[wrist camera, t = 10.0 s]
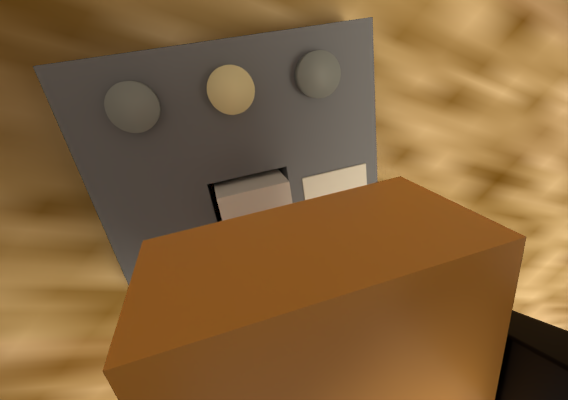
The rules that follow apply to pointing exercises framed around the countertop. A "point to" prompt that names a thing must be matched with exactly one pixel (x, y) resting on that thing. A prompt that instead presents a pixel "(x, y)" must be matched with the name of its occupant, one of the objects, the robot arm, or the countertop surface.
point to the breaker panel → (215, 123)
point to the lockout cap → (322, 303)
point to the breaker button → (252, 193)
